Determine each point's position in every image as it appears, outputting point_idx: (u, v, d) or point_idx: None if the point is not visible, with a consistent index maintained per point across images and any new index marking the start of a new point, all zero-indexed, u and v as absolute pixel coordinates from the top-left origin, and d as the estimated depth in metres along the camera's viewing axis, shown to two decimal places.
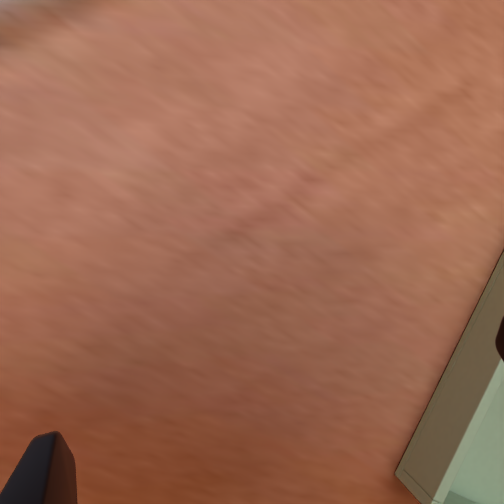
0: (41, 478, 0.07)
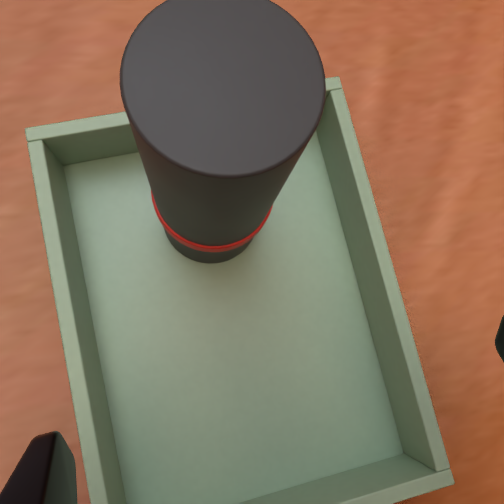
0: (41, 478, 0.07)
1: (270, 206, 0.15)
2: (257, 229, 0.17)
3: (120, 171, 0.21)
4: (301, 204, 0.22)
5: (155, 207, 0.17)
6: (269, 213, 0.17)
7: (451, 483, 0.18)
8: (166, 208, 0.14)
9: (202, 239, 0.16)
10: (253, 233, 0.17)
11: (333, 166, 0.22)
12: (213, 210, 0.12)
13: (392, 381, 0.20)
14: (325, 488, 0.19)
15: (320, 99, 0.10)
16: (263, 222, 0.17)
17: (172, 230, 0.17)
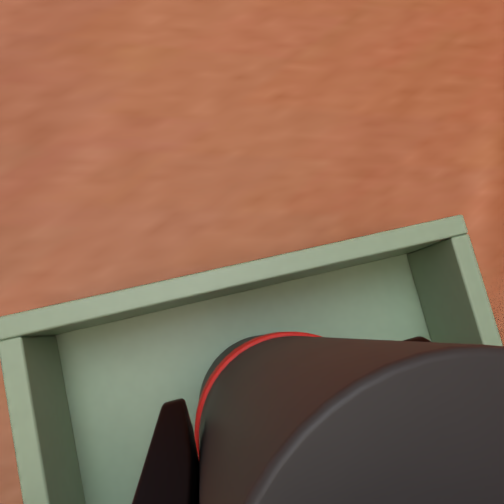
0: (183, 439, 0.08)
1: None
2: None
3: (137, 340, 0.15)
4: None
5: None
6: None
7: None
8: None
9: None
10: None
11: (441, 330, 0.15)
12: None
13: None
14: None
15: None
16: None
17: None
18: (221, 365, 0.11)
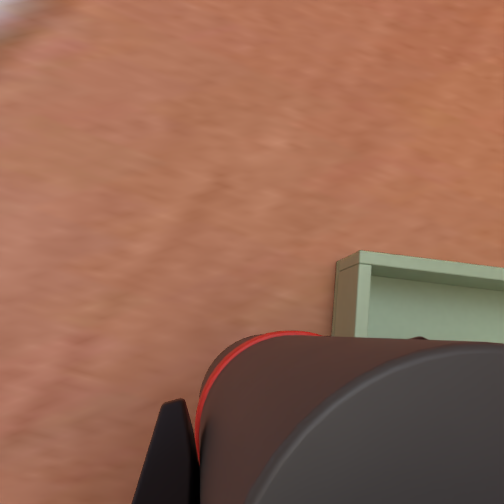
0: (183, 439, 0.08)
1: None
2: None
3: (396, 293, 0.23)
4: None
5: None
6: None
7: None
8: None
9: None
10: None
11: None
12: None
13: None
14: None
15: None
16: None
17: None
18: (221, 364, 0.11)
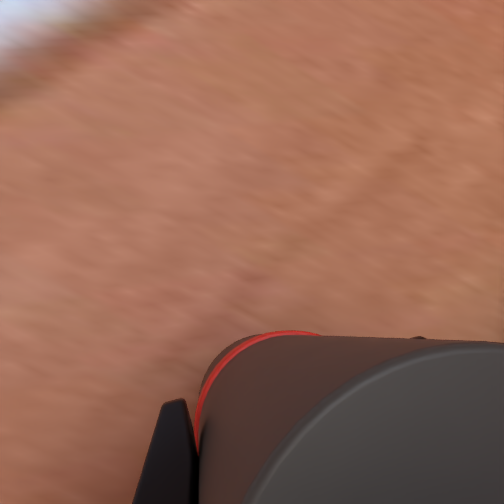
0: (183, 439, 0.08)
1: None
2: None
3: None
4: None
5: None
6: None
7: None
8: None
9: None
10: None
11: None
12: None
13: None
14: None
15: None
16: None
17: None
18: (221, 364, 0.11)
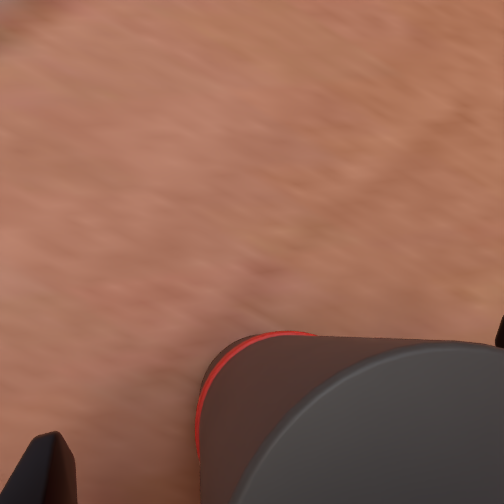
0: (41, 478, 0.07)
1: None
2: None
3: None
4: None
5: None
6: None
7: None
8: None
9: None
10: None
11: None
12: None
13: None
14: None
15: None
16: None
17: None
18: (221, 363, 0.11)
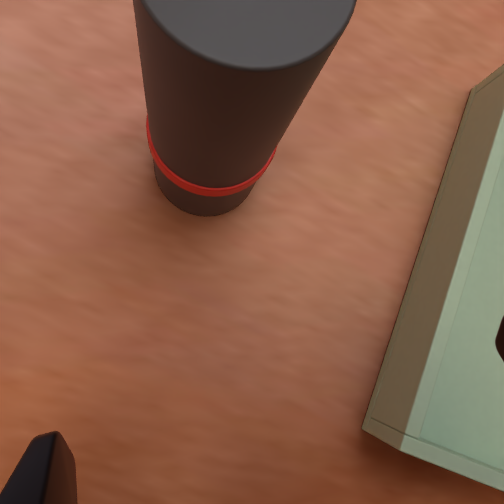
0: (41, 478, 0.07)
1: (276, 142, 0.14)
2: (258, 174, 0.16)
3: None
4: None
5: (150, 141, 0.16)
6: (271, 158, 0.16)
7: None
8: (164, 132, 0.13)
9: (199, 176, 0.15)
10: (253, 178, 0.16)
11: None
12: (219, 127, 0.11)
13: None
14: None
15: None
16: (264, 167, 0.16)
17: (167, 167, 0.16)
18: None
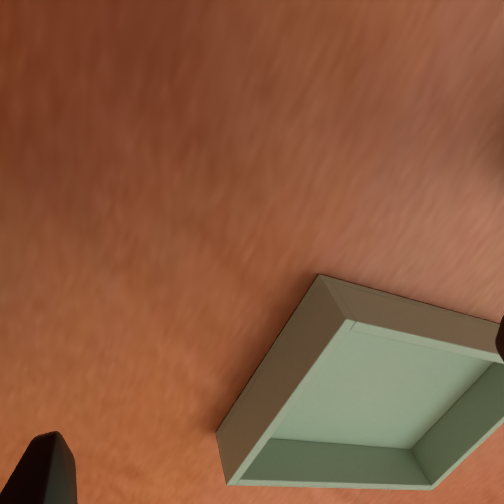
0: (41, 478, 0.07)
1: None
2: None
3: (484, 363, 0.32)
4: (384, 432, 0.34)
5: None
6: None
7: (228, 484, 0.27)
8: None
9: None
10: None
11: (390, 458, 0.34)
12: None
13: (277, 453, 0.30)
14: None
15: None
16: None
17: None
18: None
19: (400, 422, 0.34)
